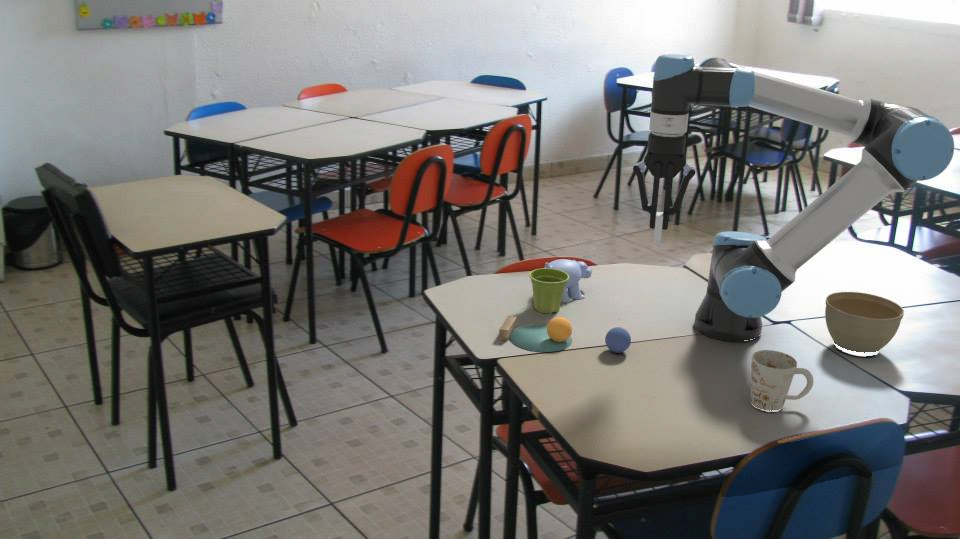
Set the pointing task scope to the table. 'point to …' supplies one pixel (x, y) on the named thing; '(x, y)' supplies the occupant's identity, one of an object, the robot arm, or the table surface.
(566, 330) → the orange ball
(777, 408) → the mug
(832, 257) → the table surface
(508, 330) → the rail
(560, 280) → the plant pot
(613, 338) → the blue ball
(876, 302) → the planter bowl
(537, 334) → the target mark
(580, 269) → the hippopotamus toy
